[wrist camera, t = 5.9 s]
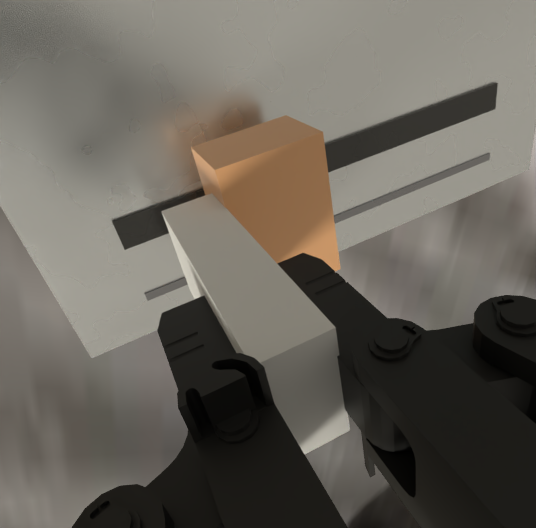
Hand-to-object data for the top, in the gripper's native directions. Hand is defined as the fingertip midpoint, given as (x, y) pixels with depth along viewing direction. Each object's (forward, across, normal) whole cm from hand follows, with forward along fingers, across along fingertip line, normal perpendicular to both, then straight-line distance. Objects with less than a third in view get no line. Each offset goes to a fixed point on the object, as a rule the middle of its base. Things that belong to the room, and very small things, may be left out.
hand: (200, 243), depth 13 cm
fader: (+2, +2, 0) cm, 3 cm away
